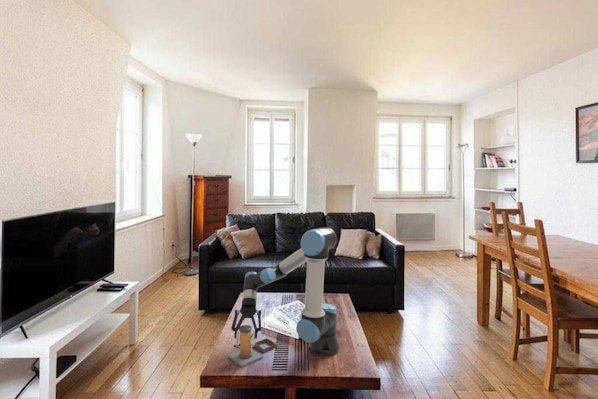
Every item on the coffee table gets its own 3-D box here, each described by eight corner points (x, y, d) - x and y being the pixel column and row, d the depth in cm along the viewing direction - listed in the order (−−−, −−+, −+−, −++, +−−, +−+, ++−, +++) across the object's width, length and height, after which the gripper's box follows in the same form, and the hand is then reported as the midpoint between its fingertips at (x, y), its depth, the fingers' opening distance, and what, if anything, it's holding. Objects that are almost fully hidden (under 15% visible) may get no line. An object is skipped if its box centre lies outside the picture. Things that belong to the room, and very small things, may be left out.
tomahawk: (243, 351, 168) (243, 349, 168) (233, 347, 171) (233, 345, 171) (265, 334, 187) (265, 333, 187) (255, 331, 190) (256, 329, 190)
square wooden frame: (277, 347, 171) (277, 343, 171) (264, 352, 165) (264, 349, 165) (266, 341, 178) (266, 337, 178) (253, 346, 172) (253, 343, 172)
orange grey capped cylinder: (254, 355, 160) (254, 327, 159) (244, 360, 156) (243, 331, 155) (247, 350, 165) (246, 324, 164) (237, 355, 160) (236, 327, 160)
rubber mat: (262, 358, 160) (262, 356, 160) (242, 367, 152) (242, 365, 152) (248, 349, 169) (248, 347, 169) (228, 357, 160) (228, 355, 160)
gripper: (268, 303, 175) (266, 348, 160) (231, 303, 174) (224, 347, 159) (268, 297, 169) (265, 342, 154) (229, 296, 169) (222, 342, 153)
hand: (244, 345), depth 157 cm, fingers open, 7 cm apart
